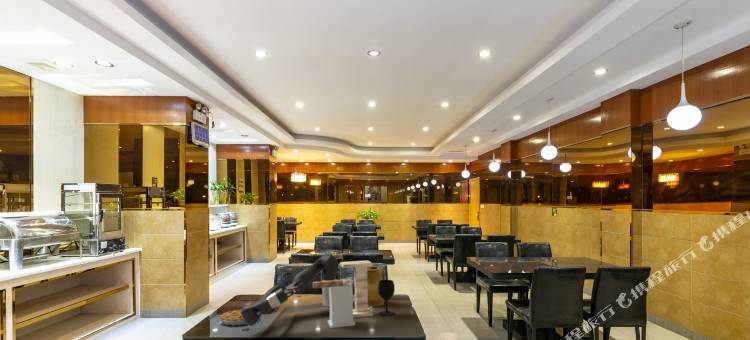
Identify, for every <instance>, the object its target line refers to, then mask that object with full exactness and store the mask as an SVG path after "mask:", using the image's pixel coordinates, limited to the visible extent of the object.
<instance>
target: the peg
mask: <svg viewBox="0 0 750 340" xmlns="http://www.w3.org/2000/svg"><path fill="white" fill-rule="evenodd" d="M352 283H353V280H352V279H351V278H341V279H336V280H331V281H321V280H320V281H312V289H322V288H325V287H336V286H352V287H353V285H352Z"/></svg>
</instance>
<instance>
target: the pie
mask: <svg viewBox="0 0 750 340" xmlns="http://www.w3.org/2000/svg"><path fill="white" fill-rule="evenodd" d="M242 309H243V308H241V309H234V310H228V311H227V312H223V313H222V314H220V316H219V320H220V321H221V324H222V325H224V324H225V326H228V325H232V326H231V327H236V326H235V325H238V326H243V324H244V325H247V324H246V322H245V320H244V318H243V317H242V315H241V310H242Z"/></svg>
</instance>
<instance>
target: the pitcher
mask: <svg viewBox="0 0 750 340" xmlns="http://www.w3.org/2000/svg"><path fill="white" fill-rule="evenodd" d="M384 269H385V268H384V266H376V265H375V266H373V265H372V266H367V289H368V307H369V306H370V307H380V306H383V305H385V302H384V301H385V300H384V299H383V298H381V296H380V295H379V293H378V284H379V281H380V280H384V278H383V270H384Z"/></svg>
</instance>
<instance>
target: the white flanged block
mask: <svg viewBox="0 0 750 340" xmlns="http://www.w3.org/2000/svg"><path fill="white" fill-rule="evenodd" d="M353 291H354V290H353V285H352V286H336V287H329V300H330V306H329V319H327V324H328V325H329V328H330V329H333V328H334V329H335V328H336V329H337V328H343V327H344V328H345V327H353V326H356V322H355V321H354V318H353V309H354V307H353V305H354V303H353V301H354V300H353V298H354V297H353V296H354V295H353Z"/></svg>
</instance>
